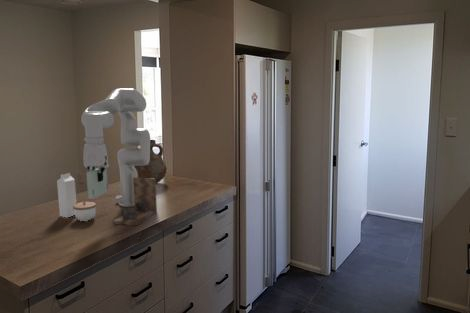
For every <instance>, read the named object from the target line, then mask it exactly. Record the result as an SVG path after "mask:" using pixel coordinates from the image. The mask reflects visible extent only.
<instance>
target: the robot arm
mask: <svg viewBox="0 0 470 313" xmlns="http://www.w3.org/2000/svg"><path fill="white" fill-rule="evenodd" d="M146 108H147V100H146V98H145V97H144V95H143V94H141V92H140V91H138V90H137V89H135V88H115V89H113V90H111V92H110V93H109V94H108V96H107V97H106V98H105V99H103V100H100V101H98V102H95V103H93V104H91V105H89V106H88V107H87V108H86V109H85V110H84V111H83V113H82V115H81V117H80V118H81V120H80V121H81V124H82V125H83V127H84V132H85V137H84V138H83V141H84V142H85V143H84V146H83V153H82V154H83V156H82V157H83V158H82V160H83V167H84V168H86V169H87V170H88V171H91V170H94V169H96V167H97V168H98V172H99V173H98V182H100V181H103V172H104V170H105V169H109V168H110V164H109V157H108V152H107V147H106V146H107V145H106V143H105V142H104V139H105V138H104V129H105V128H106V129H107V128H110V127H112V126H113V125H114V123H115V117H114V115H115V114H118V115H119V118H120V122H121V123H120V143H121V144H122V145H123V146H130V147H126V148H125V147H123V148H121V149H119V150H118V152H117V154H116V157H117V162H118V167H119V177H120V178H119V180H120V194H121V195H116V196H115V200H117V201H119V202H118V206H121V207H124V208H126V207H127V208H131V207H135V205H134V185H133V178H134V177H138V173H137V170H136V169H135V167H134V165H135V166H144V165H147V164H148V163H149V160H150V140H151V135H150V132H149V130H148V129H146V128H138V120H137V117H136V116H135V113H134V112H136V113H137V112H139V113H141V112H144V111H145V110H146ZM131 146H132V147H131ZM134 146H135V147H136V148H135V147H134ZM137 147H138V148H137ZM139 147H140V148H139Z"/></svg>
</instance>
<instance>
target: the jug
mask: <svg viewBox="0 0 470 313" xmlns="http://www.w3.org/2000/svg"><path fill="white" fill-rule="evenodd" d="M154 148H159V152H158V153H156V152H154ZM163 154H164V148H163V146H162V145H161V144H159V143H156V139H150V160H149V163H148V164H147V165H144V166H135V165H134V167H135V169H136V170H137V173H138V178H155V180H156V186H157V185H159V184H158V183H159V182H161V181H162V180H163V179H164V178H165V176H166V175H167V165H166V162H165V160H164V159H163V157H162V156H163Z"/></svg>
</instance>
